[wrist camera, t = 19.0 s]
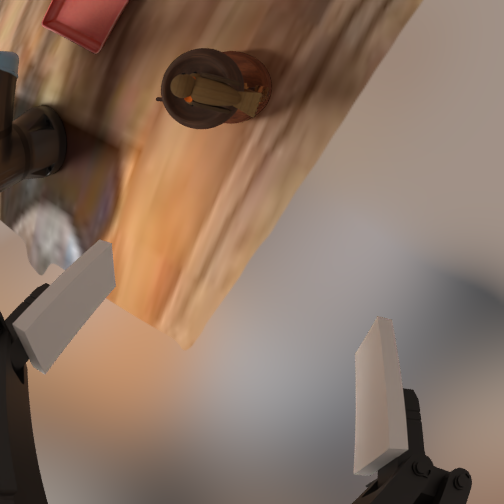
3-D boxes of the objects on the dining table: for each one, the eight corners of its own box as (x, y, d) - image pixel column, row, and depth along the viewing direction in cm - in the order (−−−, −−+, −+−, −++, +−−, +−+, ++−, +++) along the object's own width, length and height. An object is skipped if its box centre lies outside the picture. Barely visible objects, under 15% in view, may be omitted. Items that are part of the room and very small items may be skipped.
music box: (283, 48, 36) (255, 41, 20) (283, 120, 43) (258, 165, 27) (180, 54, 39) (98, 63, 23) (185, 120, 45) (113, 165, 30)
